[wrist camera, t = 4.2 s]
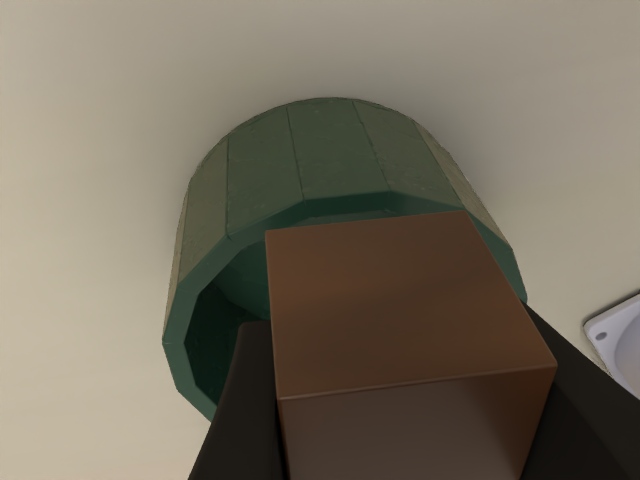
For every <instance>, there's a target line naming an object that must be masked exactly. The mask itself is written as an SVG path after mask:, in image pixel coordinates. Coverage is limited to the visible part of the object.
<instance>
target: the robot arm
mask: <svg viewBox="0 0 640 480" xmlns="http://www.w3.org/2000/svg"><path fill="white" fill-rule="evenodd" d="M518 298H519V297H518ZM519 300H520V301H521V303H522V305H523V306H524V308H525V310H526V311H527V313H528V315H529V316H530V318H531V320H532V321H533V323H534V325H535V326H536V328H537V330H538V331H539V333H540V335H541V336H542V338H543V339H544V341H545V343H546V344H547V346H548V348H549V349H550V351H551V353H552V354H553V356H554V358H555V359H556V361H557V364H558V367H557V370H556V373H555V376H554V379H553V382H552V385H551V388H550V391H549V394H548V397H547V400H546V403H545V406H544V409H543V412H542V415H541V418H540V421H539V424H538V427H537V430H536V433H535V436H534V439H533V442H532V445H531V448H530V451H529V454H528V457H527V460H526V463H525V466H524V469H523V472H522V475H521V478H520V480H640V294H638V295H636V296H634V297H632V298H630V299H629V300H627V301H625V302H623V303H621V304H619V305H617V306H615V307H613V308H611V309H609V310H607V311H606V312H604V313H602V314H600V315H598V316H596V317H594V318H592V319H590V320H589V321H587V322H586V324H585V325H584V331H585V333H586V335H587V336H588V338H589V339H590V341H591V343H592V344H593V346H594V348H595V349H596V351H597V352H598V354H599V356H600V357H601V359H602V361H603V362H604V364H605V365H606V367H607V369H608V370H609V372H610V373H611V375H612V377H613V378H614V379H612V378H611V377H610V376H609V375H607V374H606V373H605V372H604V371H603V370H601V369H600V368H599V367H598V366H597V365H595V364H594V363H593V362H592V361H591V360H589V359H588V358H587V357H586V356H585V355H583V354H582V353H581V352H580V351H579V350H578V349H576V348H575V347H574V346H573V345H572V344H571V343H570V342H568V341H567V340H566V339H565V338H564V337H563V336H562V335H560V334H559V333H558V332H557V331H556V330H555V329H554V328H552V327H551V326H550V325H549V324H548V323H547V322H546V321H545V320H543V319H542V318H541V317H540V316H539V315H538V314H537V313H536V312H534V311H533V310H532V309H531V308H530V307H529V306H528V305H527V304H525V303H524V302H523V301H522V300H521V299H520V298H519ZM188 480H288V479H287V472H286V465H285V457H284V450H283V442H282V435H281V428H280V420H279V413H278V405H277V397H276V383H275V369H274V355H273V341H272V328H271V319H270V320H261V321H252V322H244V323H243V324H242V325H241V326H240V327H239V328H238V335H237V341H236V346H235V351H234V355H233V359H232V362H231V366H230V369H229V373H228V376H227V379H226V383H225V386H224V389H223V392H222V395H221V398H220V400H219V403H218V406H217V409H216V412H215V415H214V417H213V420H212V423H211V425H210V428H209V431H208V433H207V435H206V438H205V440H204V443H203V445H202V447H201V450H200V452H199V454H198V457H197V459H196V462H195V464H194V466H193V469H192V471H191V473H190V475H189V478H188Z"/></svg>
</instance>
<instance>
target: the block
mask: <svg viewBox="0 0 640 480" xmlns="http://www.w3.org/2000/svg"><path fill="white" fill-rule="evenodd" d="M265 244H266V258H267V272H268V286H269V300H270V314H271V328H272V341H273V355H274V369H275V383H276V397H277V405H278V413H279V420H280V428H281V435H282V442H283V450H284V457H285V465H286V472H287V479H288V480H520V478H521V475H522V472H523V469H524V466H525V463H526V460H527V457H528V454H529V451H530V448H531V445H532V442H533V439H534V436H535V433H536V430H537V427H538V424H539V421H540V418H541V415H542V412H543V409H544V406H545V403H546V400H547V397H548V394H549V391H550V388H551V385H552V382H553V379H554V376H555V373H556V370H557V367H558V364H557V361H556V359H555V358H554V356H553V354H552V353H551V351H550V349H549V348H548V346H547V344H546V343H545V341H544V339H543V338H542V336H541V335H540V333H539V331H538V330H537V328H536V326H535V325H534V323H533V321H532V320H531V318H530V316H529V315H528V313H527V311H526V310H525V308H524V306H523V305H522V303H521V301H520V300H519V298H518V296H517V295H516V293H515V291H514V290H513V288H512V286H511V285H510V283H509V281H508V280H507V278H506V276H505V275H504V273H503V271H502V270H501V268H500V266H499V265H498V263H497V261H496V260H495V258H494V256H493V255H492V253H491V251H490V250H489V248H488V246H487V245H486V243H485V241H484V240H483V238H482V236H481V235H480V233H479V231H478V230H477V228H476V226H475V225H474V223H473V221H472V220H471V218H470V217H469V215H468V213H467V212H466V211H465V210H459V211H449V212H439V213H430V214H420V215H410V216H400V217H390V218H380V219H370V220H361V221H351V222H341V223H331V224H321V225H311V226H301V227H292V228H282V229H272V230H266V232H265Z"/></svg>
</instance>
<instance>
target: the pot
mask: <svg viewBox="0 0 640 480" xmlns="http://www.w3.org/2000/svg"><path fill="white" fill-rule="evenodd" d="M459 210H465V211H466V212H467V213H468V215H469V217H470V218H471V220H472V221H473V223H474V225H475V226H476V228H477V230H478V231H479V233H480V235H481V236H482V238H483V240H484V241H485V243H486V245H487V246H488V248H489V250H490V251H491V253H492V255H493V256H494V258H495V260H496V261H497V263H498V265H499V266H500V268H501V270H502V271H503V273H504V275H505V276H506V278H507V280H508V281H509V283H510V285H511V286H512V288H513V290H514V291H515V293H516V295H517V296H518V297H519V298H520V299H521V300H522V301H523V302H524V303H525V304H526V303H527V293H526V290H525V287H524V284H523V281H522V278H521V274H520V271H519V268H518V265H517V262H516V259H515V255H514V252H513V249H512V248H511V246H510V245H509V243H508V242H507V240H506V239H505V237H504V236H503V234H502V233H501V231H500V230H499V228H498V227H497V225H496V223H495V222H494V220H493V219H492V217H491V216H490V214H489V213H488V211H487V210H486V208H485V207H484V205H483V204H482V202H481V201H480V199H479V198H478V196H477V195H476V193H475V192H474V190H473V189H472V187H471V186H470V184H469V182H468V181H467V179H466V178H465V176H464V175H463V173H462V172H461V170H460V169H459V167H458V166H457V164H456V163H455V161H454V160H453V158H452V157H451V155H450V154H449V153H448V152H447V151H446V150H445V149H444V148H443V147H442V146H441V145H440V144H439V143H438V142H437V141H436V140H435V139H434V138H433V136H432V135H431V134H430V133H429V132H428V131H427V130H425V129H424V128H423V127H421V126H420V125H419V124H418V123H416V122H415V121H414V120H412V119H410V118H408V117H407V116H405V115H403V114H401V113H399V112H398V111H395V110H392V109H390V108H387V107H385V106H382V105H379V104H375V103H371V102H367V101H363V100H356V99H346V98H317V99H310V100H304V101H297V102H294V103H290V104H287V105H283V106H279V107H276V108H274V109H271V110H269V111H267V112H264V113H262V114H260V115H257V116H255V117H254V118H252V119H250V120H248V121H247V122H245V123H243V124H242V125H240V126H238V127H237V128H236V129H234V130H233V131H232V132H231V133H229V134H228V135H227V136H225V137H224V138H223V139H222V140H221V141H220V142H219V143H218V144H217V145H216V146H215V147H214V148H213V149H212V150H211V151H210V152H209V153H208V155H207V156H206V157H205V159H204V160H203V161H202V163H201V164H200V165H199V167H198V168H197V170H196V172H195V174H194V176H193V177H192V179H191V181H190V182H189V186H188V189H187V192H186V195H185V198H184V203H183V209H182V213H181V217H180V221H179V224H178V228H177V235H176V243H175V250H174V257H173V264H172V271H171V278H170V285H169V292H168V300H167V307H166V314H165V321H164V328H163V335H162V345H163V348H164V351H165V354H166V358H167V361H168V364H169V367H170V370H171V373H172V377H173V380H174V383H175V386H176V389H177V390H178V392H179V393H180V394H181V395H182V396H183V397H185V398H186V399H187V400H188V401H189V402H190V403H191V404H192V405H193V406H194V407H195V408H196V409H197V410H198V411H199V412H201V413H202V414H203V415H204V416H205V417H206V418H207V419H208V420H209V421H210V422H211V423H212V420H213V417H214V415H215V412H216V409H217V406H218V403H219V400H220V398H221V395H222V392H223V389H224V386H225V383H226V379H227V376H228V373H229V369H230V366H231V362H232V359H233V355H234V351H235V346H236V341H237V335H238V328H239V327H240V326H241V325H242V324H243V323H244V322H252V321H261V320H270V319H271V314H270V300H269V286H268V272H267V258H266V244H265V232H266V230H272V229H282V228H292V227H301V226H311V225H321V224H331V223H341V222H351V221H361V220H370V219H380V218H390V217H400V216H410V215H420V214H430V213H439V212H449V211H459Z"/></svg>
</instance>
